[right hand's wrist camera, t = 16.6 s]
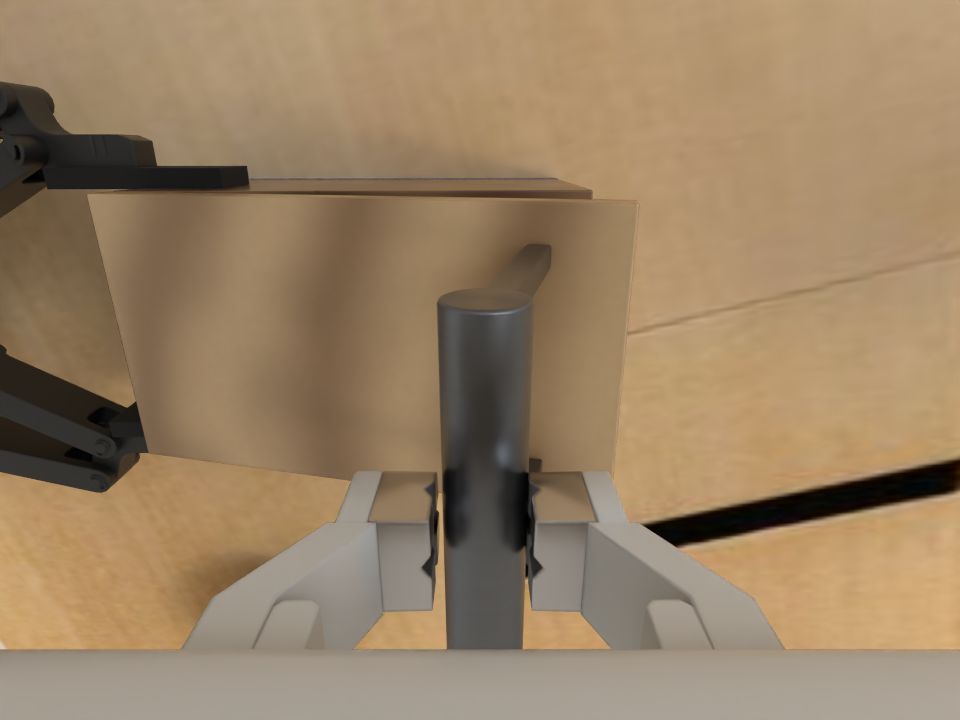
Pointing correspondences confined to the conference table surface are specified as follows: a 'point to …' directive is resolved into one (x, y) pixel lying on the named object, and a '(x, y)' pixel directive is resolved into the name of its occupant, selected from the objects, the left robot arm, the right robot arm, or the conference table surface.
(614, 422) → the lid
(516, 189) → the chest
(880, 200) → the conference table surface
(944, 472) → the conference table surface
